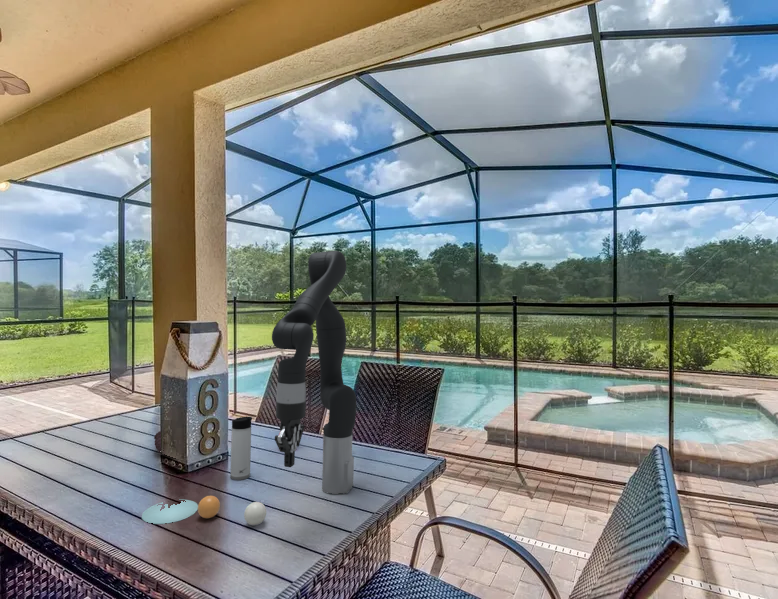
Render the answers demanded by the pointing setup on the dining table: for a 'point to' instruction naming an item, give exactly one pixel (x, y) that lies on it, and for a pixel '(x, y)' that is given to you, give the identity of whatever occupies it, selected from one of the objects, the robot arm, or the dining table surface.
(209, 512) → the object ball
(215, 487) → the dining table surface
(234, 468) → the travel mug
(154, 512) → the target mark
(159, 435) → the pine cone
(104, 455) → the dining table surface
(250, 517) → the cue ball
